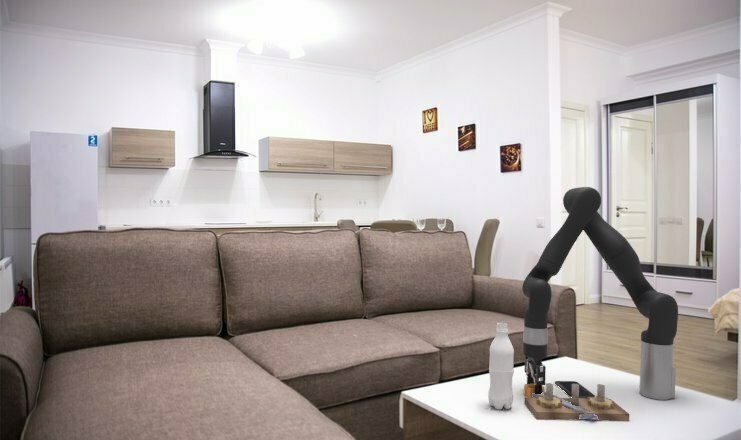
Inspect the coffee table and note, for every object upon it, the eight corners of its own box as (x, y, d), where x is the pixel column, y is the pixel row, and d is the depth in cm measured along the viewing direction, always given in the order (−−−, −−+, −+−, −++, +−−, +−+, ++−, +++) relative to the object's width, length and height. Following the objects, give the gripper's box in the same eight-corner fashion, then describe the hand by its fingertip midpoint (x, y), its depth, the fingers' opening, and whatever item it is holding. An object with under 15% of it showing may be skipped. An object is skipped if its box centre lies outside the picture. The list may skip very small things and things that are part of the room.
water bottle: (496, 400, 163) (498, 319, 162) (517, 407, 158) (519, 323, 157) (483, 406, 158) (485, 323, 157) (504, 413, 153) (506, 327, 152)
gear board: (610, 405, 161) (610, 379, 160) (629, 421, 149) (630, 392, 148) (524, 403, 161) (525, 377, 161) (536, 419, 149) (537, 390, 149)
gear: (540, 392, 171) (540, 383, 171) (547, 399, 165) (547, 390, 165) (521, 392, 171) (521, 383, 171) (527, 399, 165) (527, 389, 165)
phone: (571, 396, 166) (553, 380, 181) (571, 399, 166) (553, 384, 181) (596, 396, 166) (576, 381, 181) (596, 400, 166) (576, 384, 181)
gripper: (554, 347, 160) (553, 400, 160) (540, 335, 175) (538, 385, 175) (530, 346, 160) (528, 400, 161) (517, 335, 175) (516, 384, 175)
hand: (534, 392), depth 168 cm, fingers open, 7 cm apart
